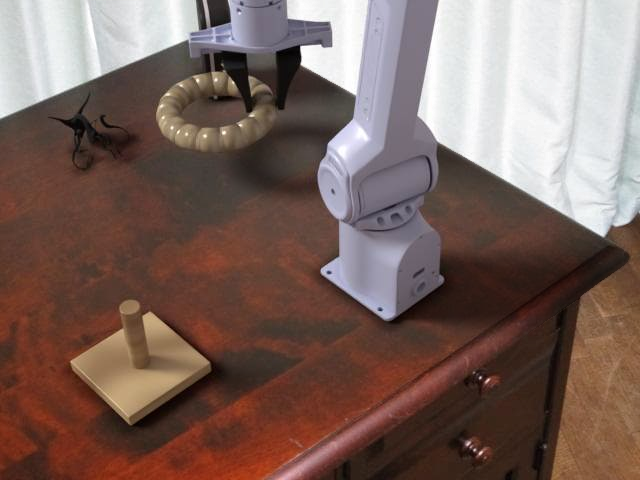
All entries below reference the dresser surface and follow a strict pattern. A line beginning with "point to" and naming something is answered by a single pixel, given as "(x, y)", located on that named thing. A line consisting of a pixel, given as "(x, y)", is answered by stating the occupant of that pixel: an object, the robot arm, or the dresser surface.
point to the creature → (88, 131)
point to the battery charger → (210, 15)
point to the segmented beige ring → (223, 136)
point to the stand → (140, 364)
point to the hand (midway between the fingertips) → (265, 106)
